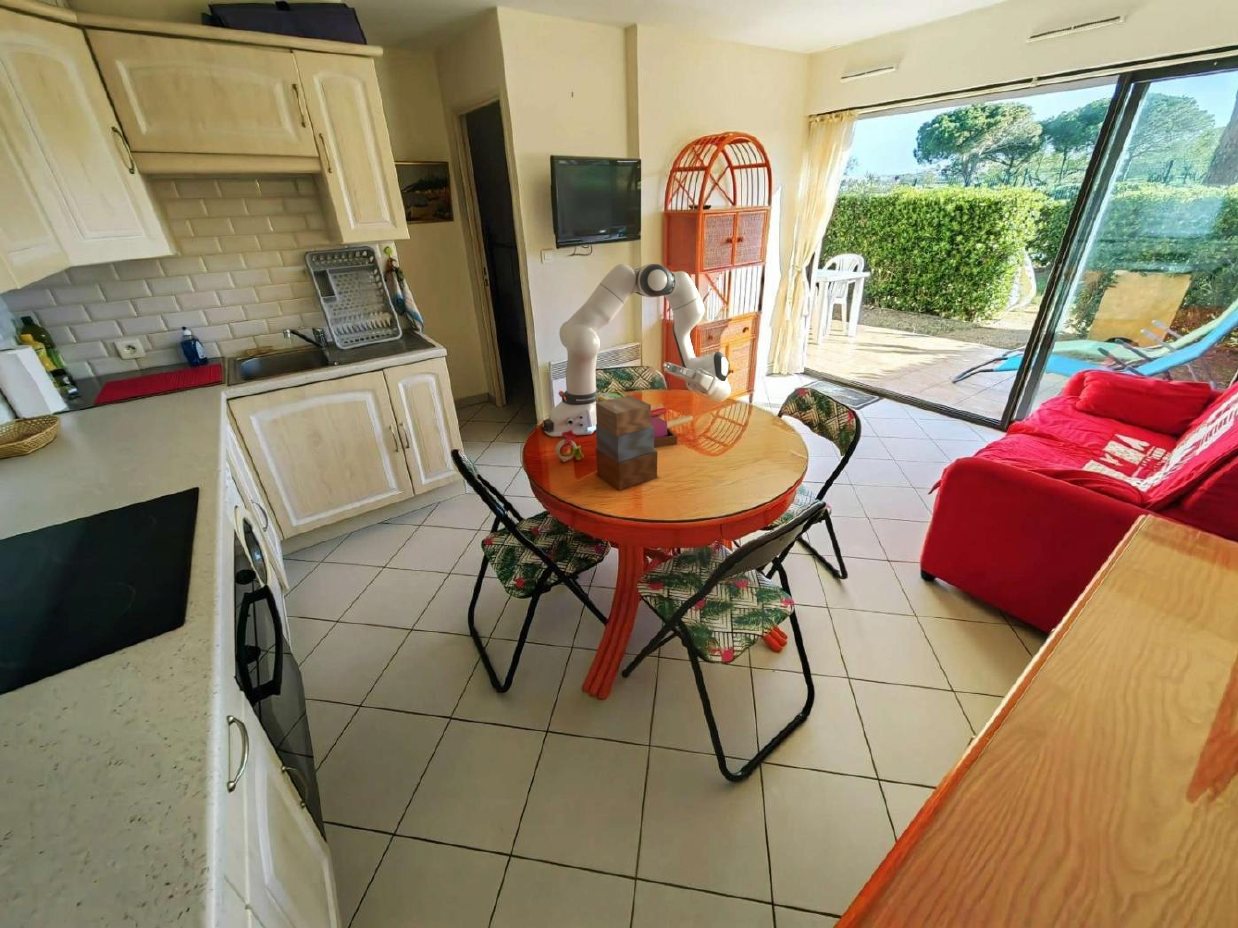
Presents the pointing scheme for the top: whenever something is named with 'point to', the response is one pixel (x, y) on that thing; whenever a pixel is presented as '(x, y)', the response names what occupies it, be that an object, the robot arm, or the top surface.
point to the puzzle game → (609, 396)
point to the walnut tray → (666, 439)
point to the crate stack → (625, 442)
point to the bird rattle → (564, 449)
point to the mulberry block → (667, 425)
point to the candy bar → (658, 411)
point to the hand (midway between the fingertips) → (673, 367)
